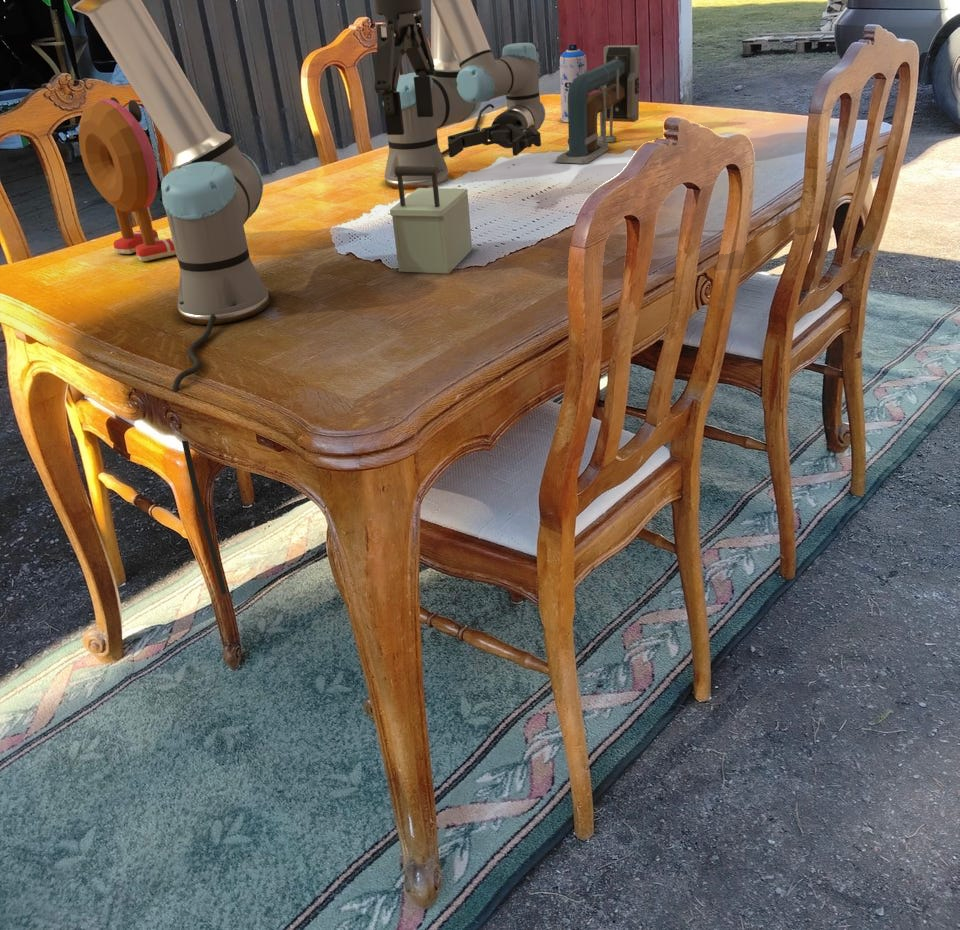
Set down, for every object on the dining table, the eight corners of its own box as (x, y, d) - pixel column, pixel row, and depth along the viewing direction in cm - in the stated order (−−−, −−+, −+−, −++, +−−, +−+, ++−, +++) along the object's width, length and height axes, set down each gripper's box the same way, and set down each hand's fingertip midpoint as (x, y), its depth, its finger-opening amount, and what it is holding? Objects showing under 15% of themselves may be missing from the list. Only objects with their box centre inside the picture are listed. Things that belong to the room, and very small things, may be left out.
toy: (199, 253, 194) (163, 96, 179) (154, 268, 188) (113, 106, 173) (144, 236, 207) (106, 89, 192) (101, 250, 201) (58, 98, 186)
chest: (448, 273, 173) (443, 216, 168) (398, 271, 176) (391, 214, 171) (472, 249, 184) (467, 194, 178) (424, 248, 187) (418, 194, 181)
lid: (442, 216, 167) (437, 169, 163) (390, 215, 170) (384, 169, 166) (467, 194, 178) (464, 150, 174) (418, 193, 181) (414, 150, 177)
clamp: (586, 163, 233) (584, 69, 222) (553, 162, 237) (550, 69, 226) (638, 131, 258) (639, 45, 248) (607, 130, 262) (607, 45, 251)
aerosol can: (559, 122, 275) (557, 47, 265) (562, 117, 282) (559, 42, 272) (587, 121, 274) (585, 45, 263) (589, 115, 280) (587, 41, 270)
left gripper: (404, -22, 163) (417, 109, 174) (340, -5, 143) (360, 142, 154) (445, -24, 161) (456, 109, 172) (387, -7, 141) (403, 142, 152)
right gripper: (568, 143, 210) (542, 167, 193) (460, 146, 218) (426, 169, 201) (566, 106, 206) (540, 128, 189) (457, 111, 214) (422, 132, 197)
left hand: (411, 125), depth 163 cm, fingers open, 13 cm apart
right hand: (481, 149), depth 195 cm, fingers open, 13 cm apart
